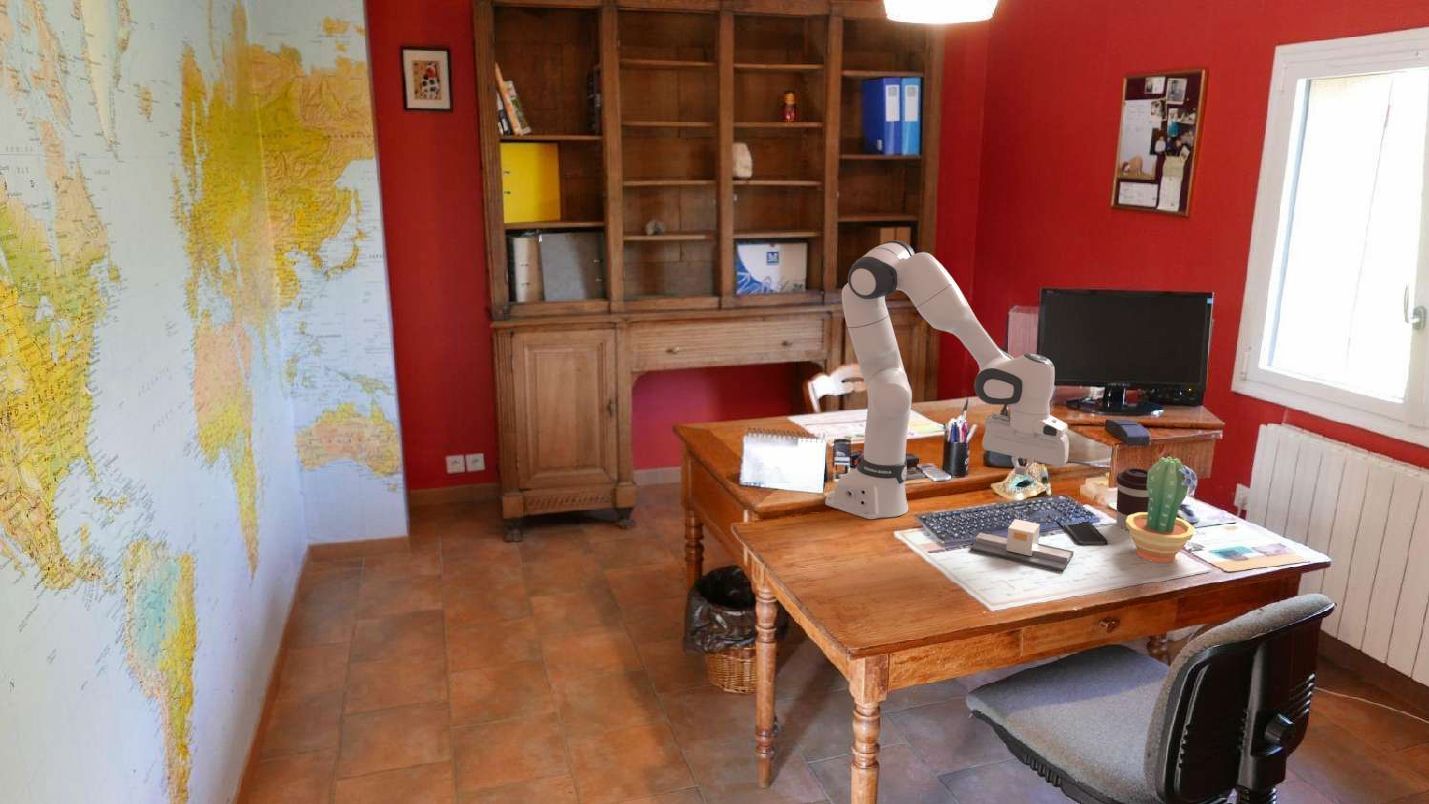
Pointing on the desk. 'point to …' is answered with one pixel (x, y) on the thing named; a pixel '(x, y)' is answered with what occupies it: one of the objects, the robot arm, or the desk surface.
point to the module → (1022, 537)
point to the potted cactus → (1163, 512)
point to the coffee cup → (1131, 494)
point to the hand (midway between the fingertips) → (1020, 474)
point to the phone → (1085, 534)
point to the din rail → (1040, 555)
